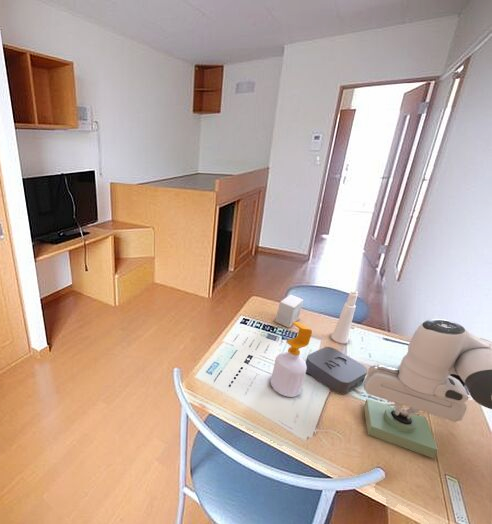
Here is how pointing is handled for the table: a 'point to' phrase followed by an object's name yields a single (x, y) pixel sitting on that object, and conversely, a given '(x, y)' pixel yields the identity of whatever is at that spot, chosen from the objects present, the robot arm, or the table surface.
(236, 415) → the table surface
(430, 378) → the robot arm
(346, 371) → the streaming box
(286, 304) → the cosmetics box
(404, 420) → the dark grey button
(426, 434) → the button block
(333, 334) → the cosmetic bottle
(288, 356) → the soap bottle
